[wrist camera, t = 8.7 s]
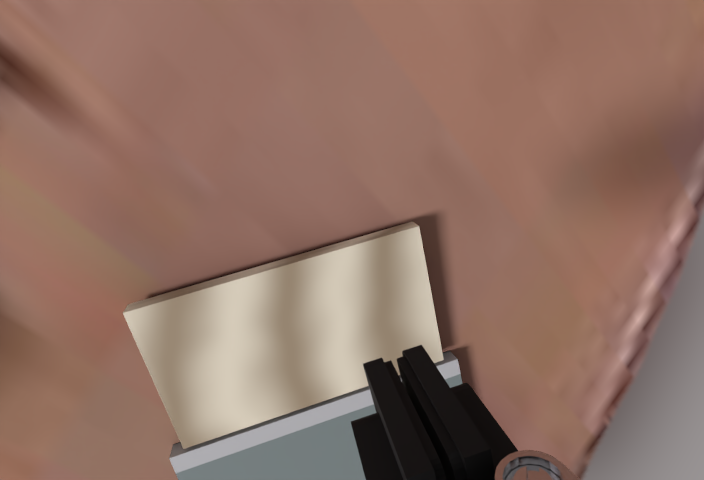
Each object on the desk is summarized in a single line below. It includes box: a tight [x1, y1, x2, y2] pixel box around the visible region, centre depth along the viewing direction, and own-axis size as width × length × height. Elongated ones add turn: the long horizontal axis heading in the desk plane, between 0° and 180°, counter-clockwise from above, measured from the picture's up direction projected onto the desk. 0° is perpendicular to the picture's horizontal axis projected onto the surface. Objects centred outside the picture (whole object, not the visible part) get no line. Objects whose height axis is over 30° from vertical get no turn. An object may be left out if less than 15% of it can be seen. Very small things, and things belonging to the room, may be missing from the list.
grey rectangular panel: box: [169, 351, 462, 480], centre depth 32 cm, size 20×11×1 cm, turn 104°
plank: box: [123, 222, 444, 449], centre depth 29 cm, size 18×10×1 cm, turn 104°
